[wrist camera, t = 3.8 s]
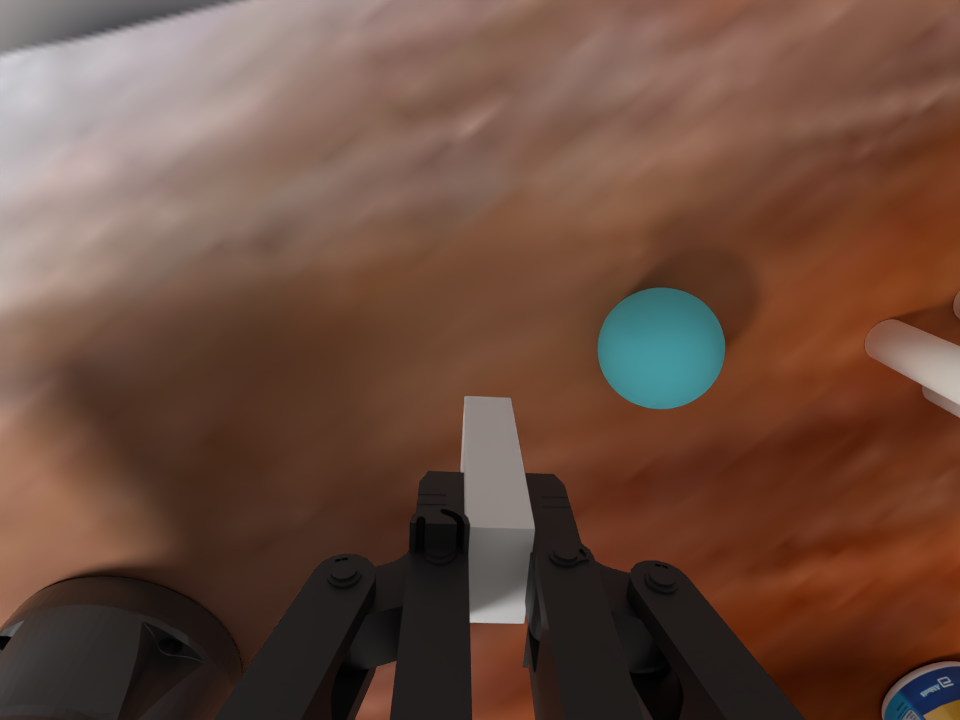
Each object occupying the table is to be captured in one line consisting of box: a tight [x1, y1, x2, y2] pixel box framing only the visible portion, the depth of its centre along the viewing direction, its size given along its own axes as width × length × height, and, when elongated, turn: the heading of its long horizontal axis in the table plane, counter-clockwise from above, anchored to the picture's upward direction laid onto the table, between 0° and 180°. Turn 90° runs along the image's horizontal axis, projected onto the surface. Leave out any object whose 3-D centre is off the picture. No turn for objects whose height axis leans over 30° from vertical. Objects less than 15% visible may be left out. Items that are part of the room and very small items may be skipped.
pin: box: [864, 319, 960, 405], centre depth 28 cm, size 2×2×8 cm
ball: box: [597, 287, 725, 409], centre depth 28 cm, size 6×6×6 cm
